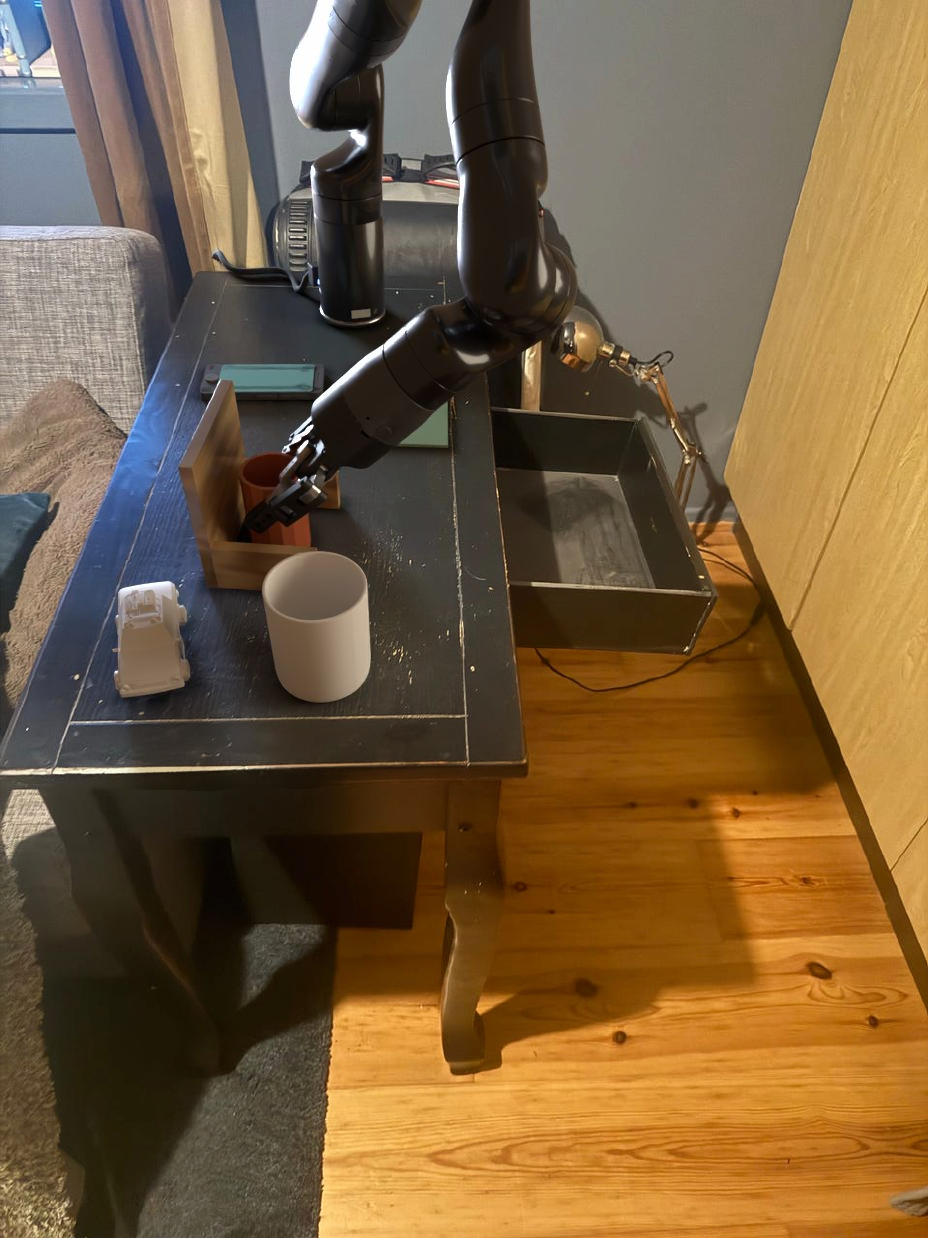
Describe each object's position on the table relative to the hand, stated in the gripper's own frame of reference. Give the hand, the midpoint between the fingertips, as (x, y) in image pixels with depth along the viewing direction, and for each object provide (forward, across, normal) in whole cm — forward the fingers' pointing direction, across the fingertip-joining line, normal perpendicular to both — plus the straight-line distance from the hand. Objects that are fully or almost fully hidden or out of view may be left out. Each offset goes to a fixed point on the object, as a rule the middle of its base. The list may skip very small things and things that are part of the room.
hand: (259, 504), depth 80 cm
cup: (+2, 0, +5) cm, 5 cm away
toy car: (+8, +16, -1) cm, 18 cm away
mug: (-2, +15, +9) cm, 18 cm away
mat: (-5, -28, +11) cm, 30 cm away
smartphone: (+8, -30, -1) cm, 31 cm away
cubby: (+2, 0, +5) cm, 5 cm away
